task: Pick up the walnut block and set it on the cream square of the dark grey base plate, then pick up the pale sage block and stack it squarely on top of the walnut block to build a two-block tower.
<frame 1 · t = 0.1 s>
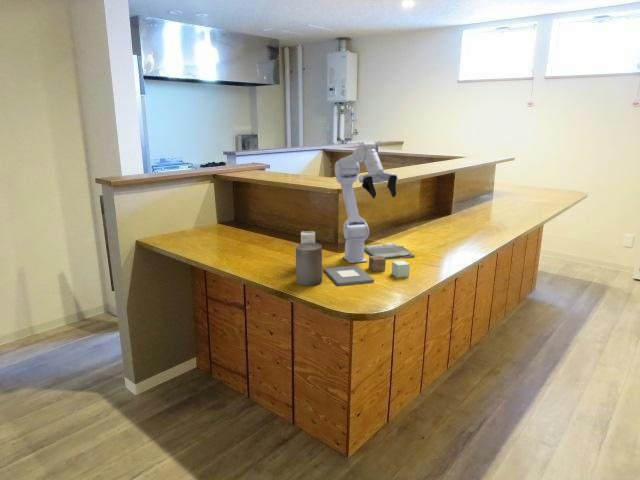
hand: (384, 195, 160), 32 cm above the countertop, tool tilted 50°, fingers open, 7 cm apart
dish towel: (388, 254, 204), on the countertop
sage block: (400, 275, 175), on the countertop
base plate: (348, 276, 173), on the countertop
walnut block: (376, 269, 181), on the countertop
pillar candle: (308, 282, 167), on the countertop
syrup box: (308, 267, 184), on the countertop
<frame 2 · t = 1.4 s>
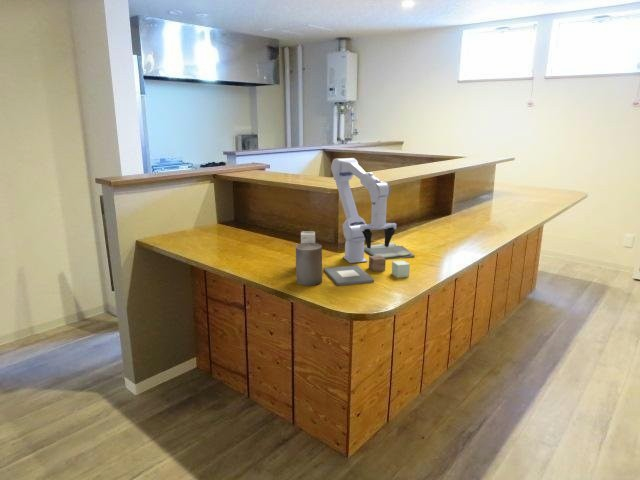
hand: (377, 247, 179), 9 cm above the countertop, tool pointing down, fingers open, 7 cm apart
nothing on the countertop moved.
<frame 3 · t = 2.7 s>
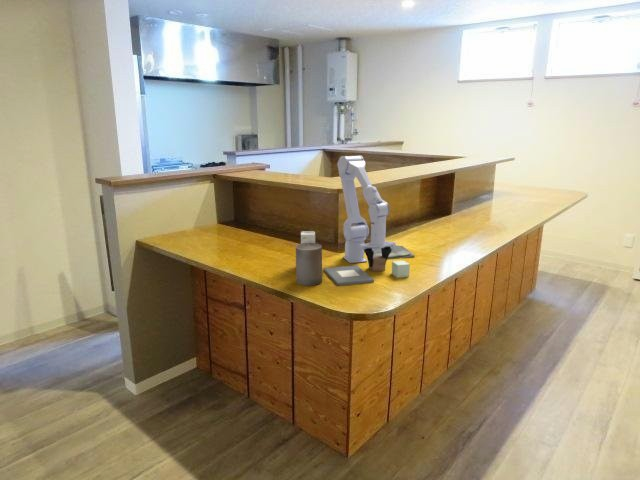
hand: (377, 265, 181), 1 cm above the countertop, tool pointing down, fingers closed on walnut block, 5 cm apart
walnut block: (376, 269, 181), on the countertop, touching gripper
everything else where it was.
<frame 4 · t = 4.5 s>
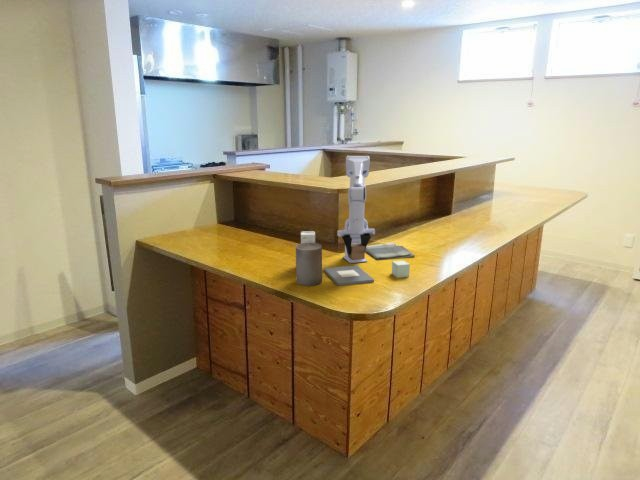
hand: (355, 253, 173), 8 cm above the countertop, tool pointing down, fingers closed on walnut block, 5 cm apart
walnut block: (356, 257, 173), point 7 cm above the countertop, touching gripper
everything else where it was.
when the fingers open (4 cm above the countertop, at t = 6.2 s): walnut block stays where it is, resting on base plate.
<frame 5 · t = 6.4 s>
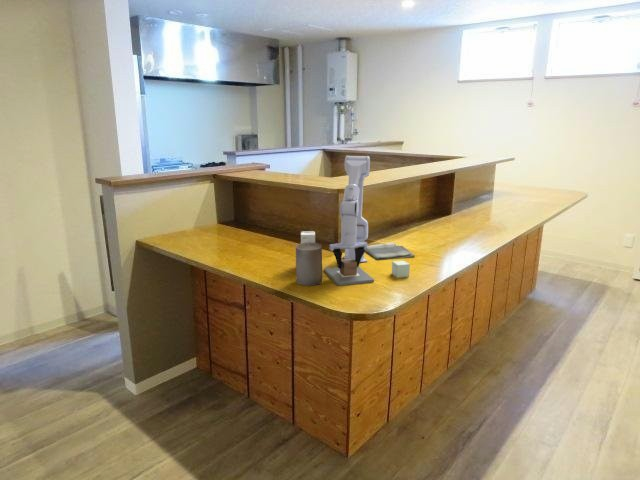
hand: (348, 267, 172), 4 cm above the countertop, tool pointing down, fingers open, 6 cm apart
walnut block: (348, 273, 173), point 1 cm above the countertop, touching base plate
everything else where it was.
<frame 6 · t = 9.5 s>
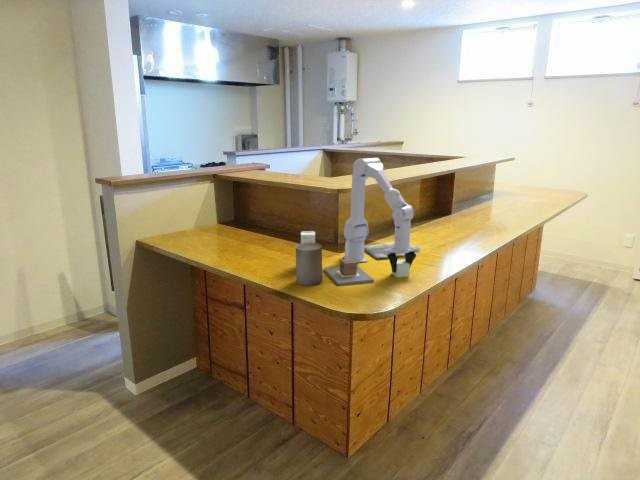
hand: (400, 271, 174), 1 cm above the countertop, tool pointing down, fingers closed on sage block, 5 cm apart
sage block: (400, 274, 175), on the countertop, touching gripper
everything else where it was.
when the fingers open (8 cm above the countertop, at t = 13.3 s): sage block stays where it is, resting on walnut block.
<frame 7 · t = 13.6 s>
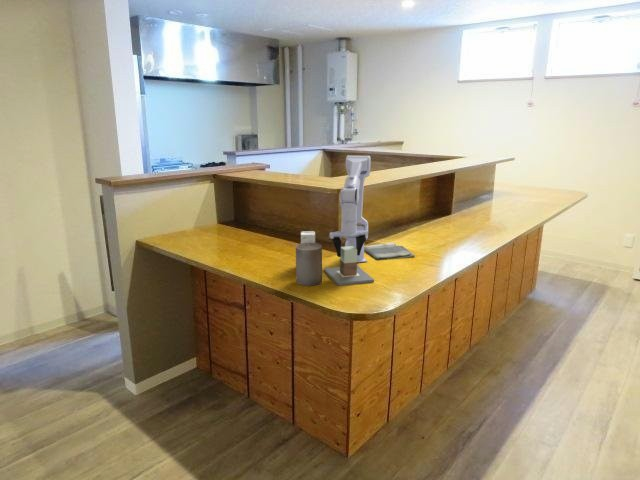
hand: (348, 255, 171), 8 cm above the countertop, tool pointing down, fingers open, 7 cm apart
sage block: (348, 260, 171), point 6 cm above the countertop, touching walnut block
walnut block: (348, 273, 173), point 1 cm above the countertop, touching base plate, sage block
everything else where it was.
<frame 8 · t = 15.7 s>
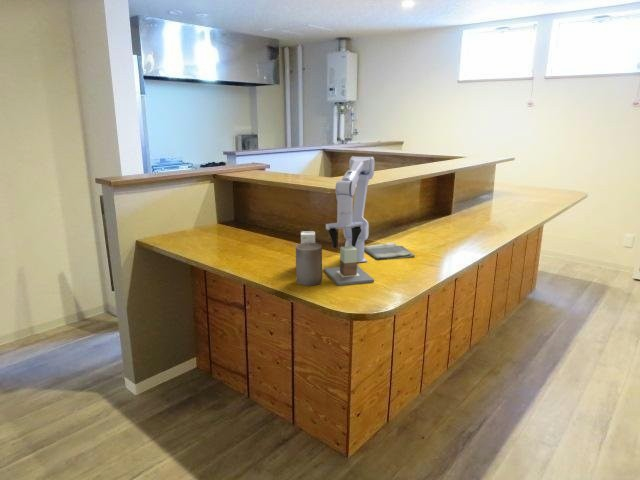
hand: (344, 246, 175), 10 cm above the countertop, tool pointing down, fingers open, 7 cm apart
nothing on the countertop moved.
at the end: walnut block 0.2 cm off-centre on the base plate, point 1.1 cm above the base plate's base; sage block 0.1 cm off-centre on the walnut block, point 5.0 cm above the walnut block's base; sage block tilted 0° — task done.
